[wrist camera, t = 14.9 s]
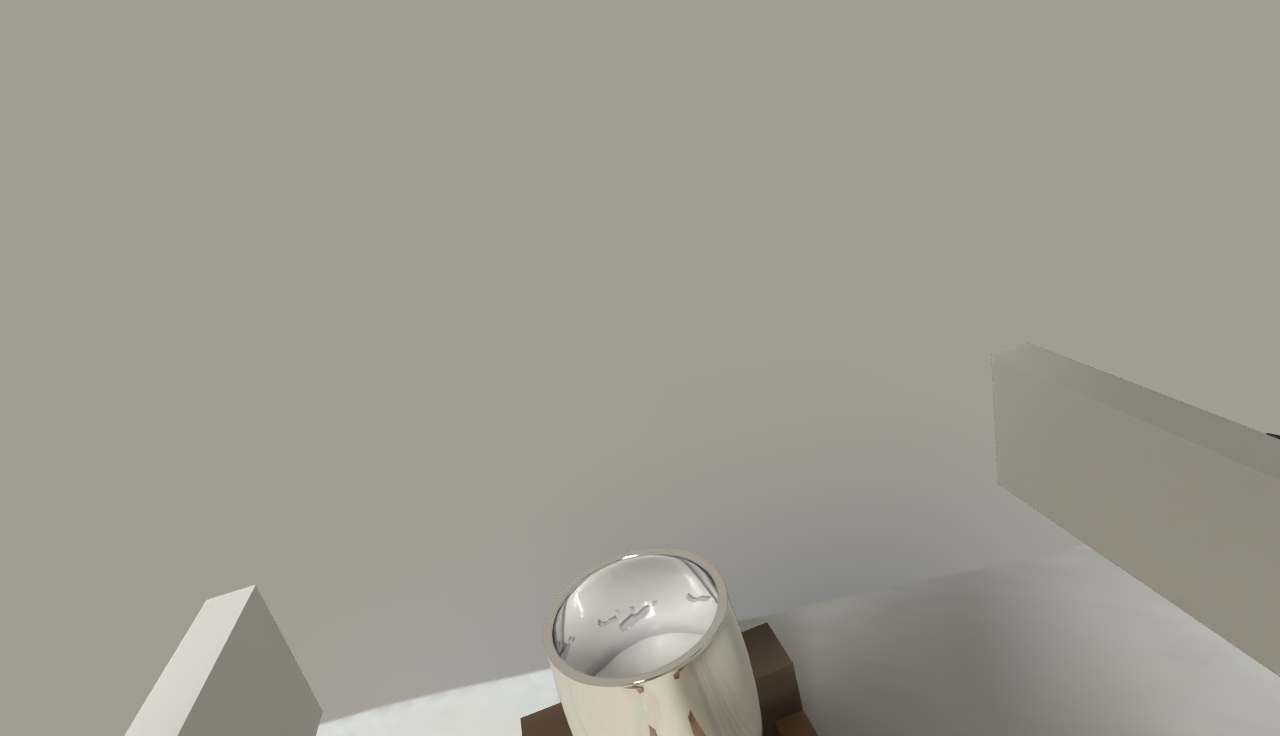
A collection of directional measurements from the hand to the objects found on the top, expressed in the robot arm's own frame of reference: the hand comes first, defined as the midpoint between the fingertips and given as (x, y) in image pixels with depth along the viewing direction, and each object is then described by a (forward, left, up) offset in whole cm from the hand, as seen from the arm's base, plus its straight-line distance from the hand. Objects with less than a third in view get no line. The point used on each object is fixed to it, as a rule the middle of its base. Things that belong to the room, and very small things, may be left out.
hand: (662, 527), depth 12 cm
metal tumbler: (+5, -8, -24) cm, 26 cm away
